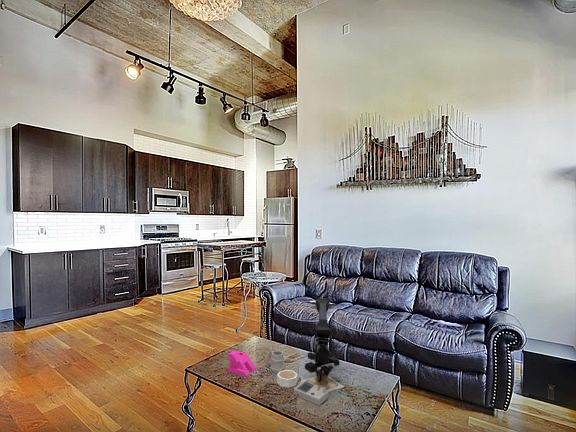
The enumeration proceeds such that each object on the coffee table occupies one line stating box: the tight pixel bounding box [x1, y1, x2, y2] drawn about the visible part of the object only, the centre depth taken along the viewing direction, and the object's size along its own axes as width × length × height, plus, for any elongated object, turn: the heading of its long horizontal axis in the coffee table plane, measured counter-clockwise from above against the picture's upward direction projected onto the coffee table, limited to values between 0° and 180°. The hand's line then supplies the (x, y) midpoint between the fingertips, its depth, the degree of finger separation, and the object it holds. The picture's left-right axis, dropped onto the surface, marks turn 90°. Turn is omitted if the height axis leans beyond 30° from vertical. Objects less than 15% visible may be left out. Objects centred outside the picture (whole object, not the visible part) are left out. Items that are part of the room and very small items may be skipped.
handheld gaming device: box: [293, 381, 329, 407], centre depth 156 cm, size 9×15×4 cm, turn 51°
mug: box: [266, 345, 285, 374], centre depth 184 cm, size 8×12×12 cm, turn 47°
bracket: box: [227, 349, 257, 378], centre depth 182 cm, size 12×10×10 cm
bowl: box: [276, 369, 299, 388], centre depth 169 cm, size 10×10×4 cm
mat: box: [300, 375, 345, 393], centre depth 168 cm, size 16×16×1 cm
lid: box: [306, 371, 339, 390], centre depth 168 cm, size 12×12×5 cm
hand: (322, 380), depth 168 cm, fingers closed on lid, 3 cm apart
